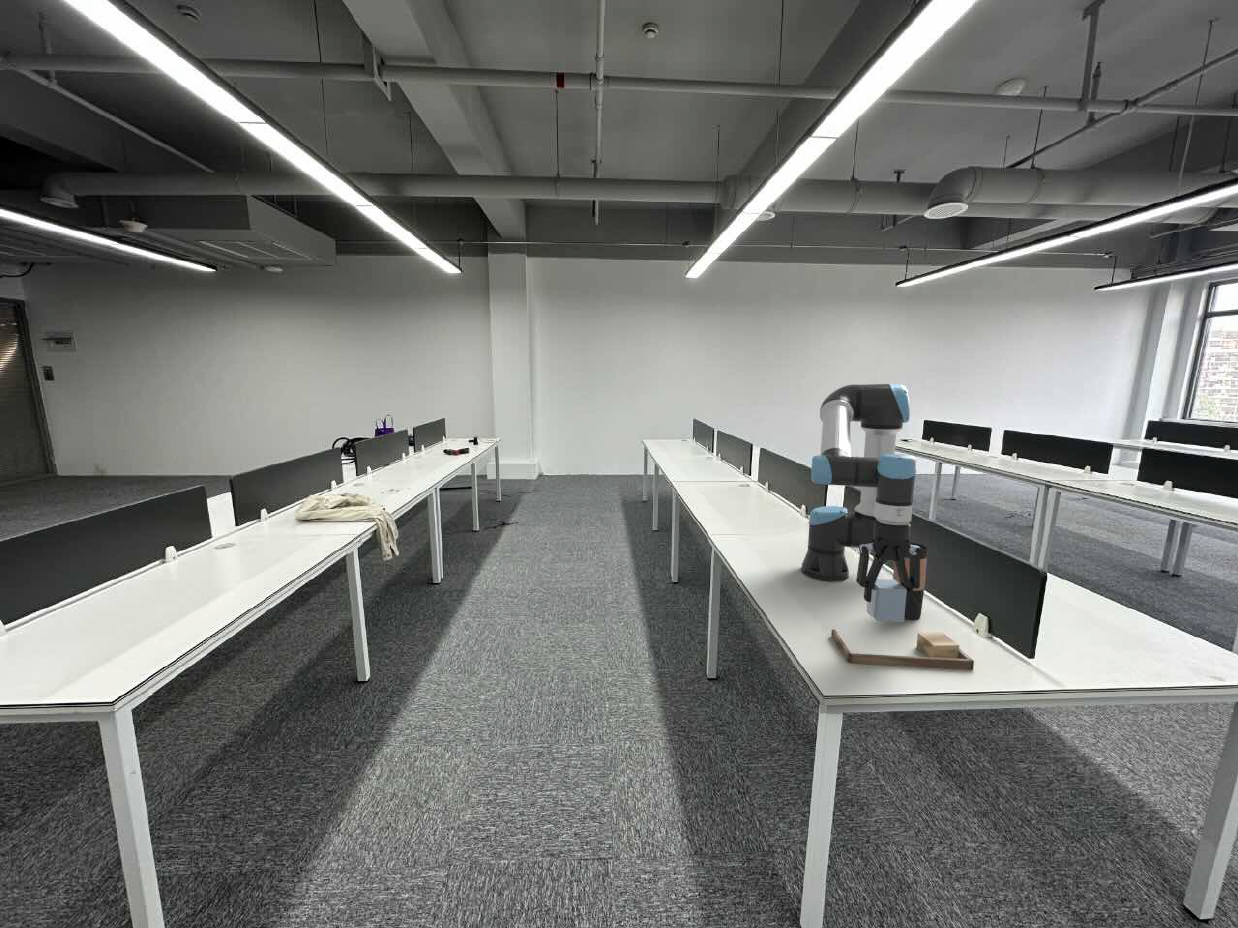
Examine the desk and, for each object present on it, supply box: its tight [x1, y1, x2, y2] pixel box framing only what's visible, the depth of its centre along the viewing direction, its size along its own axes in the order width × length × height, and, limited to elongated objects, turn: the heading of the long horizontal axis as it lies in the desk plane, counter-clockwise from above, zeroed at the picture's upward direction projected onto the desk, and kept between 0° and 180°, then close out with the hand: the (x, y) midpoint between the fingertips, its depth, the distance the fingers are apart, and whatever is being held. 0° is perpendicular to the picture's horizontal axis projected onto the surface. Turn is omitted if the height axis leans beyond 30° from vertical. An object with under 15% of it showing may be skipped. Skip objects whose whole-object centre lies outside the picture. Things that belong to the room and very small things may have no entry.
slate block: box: [873, 578, 907, 623], centre depth 115 cm, size 6×6×8 cm
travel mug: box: [892, 542, 928, 621], centre depth 135 cm, size 8×8×20 cm
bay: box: [830, 629, 975, 670], centre depth 117 cm, size 12×27×2 cm, turn 84°
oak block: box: [916, 631, 960, 659], centre depth 116 cm, size 6×6×4 cm
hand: (885, 614), depth 116 cm, fingers closed on slate block, 6 cm apart
